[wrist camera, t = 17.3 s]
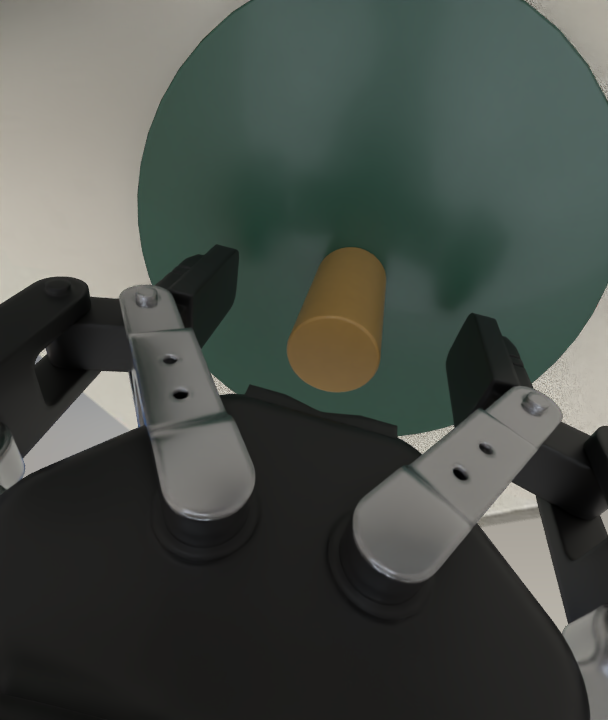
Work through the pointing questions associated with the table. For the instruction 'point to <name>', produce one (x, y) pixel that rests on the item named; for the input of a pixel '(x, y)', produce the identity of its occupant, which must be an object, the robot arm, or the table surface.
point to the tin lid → (382, 194)
